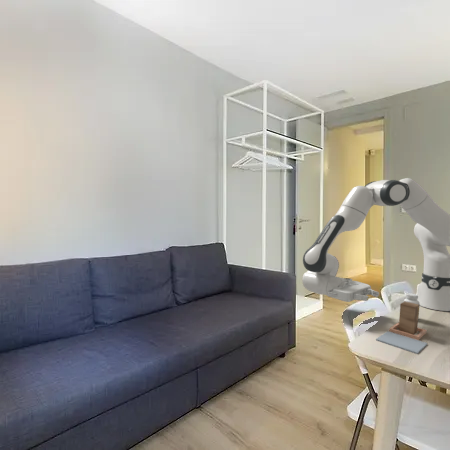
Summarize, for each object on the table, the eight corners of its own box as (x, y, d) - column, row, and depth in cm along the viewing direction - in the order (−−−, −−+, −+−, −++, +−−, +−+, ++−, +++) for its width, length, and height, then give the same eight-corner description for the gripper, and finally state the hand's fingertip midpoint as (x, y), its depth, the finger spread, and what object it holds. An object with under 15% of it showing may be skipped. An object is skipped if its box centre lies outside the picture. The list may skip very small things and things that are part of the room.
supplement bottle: (420, 322, 119) (422, 297, 119) (405, 320, 120) (407, 295, 120) (415, 317, 125) (416, 293, 124) (400, 315, 126) (402, 292, 125)
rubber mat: (387, 332, 108) (387, 331, 108) (427, 344, 99) (427, 343, 99) (375, 340, 101) (376, 339, 101) (417, 354, 93) (417, 352, 93)
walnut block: (403, 328, 112) (404, 301, 111) (417, 332, 109) (419, 304, 108) (398, 331, 109) (400, 303, 108) (412, 335, 106) (414, 307, 105)
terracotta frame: (398, 325, 115) (398, 322, 115) (426, 333, 109) (426, 330, 108) (389, 331, 109) (389, 328, 109) (418, 340, 102) (418, 337, 102)
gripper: (326, 284, 120) (361, 292, 110) (350, 277, 134) (384, 284, 124) (325, 300, 120) (360, 310, 110) (349, 291, 134) (382, 300, 124)
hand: (373, 296), depth 117 cm, fingers open, 8 cm apart
